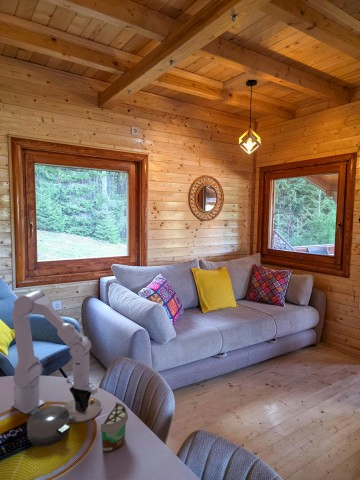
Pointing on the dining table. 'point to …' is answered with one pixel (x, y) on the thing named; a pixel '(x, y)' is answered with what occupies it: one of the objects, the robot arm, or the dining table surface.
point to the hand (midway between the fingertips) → (81, 406)
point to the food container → (114, 429)
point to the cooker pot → (47, 425)
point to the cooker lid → (83, 410)
